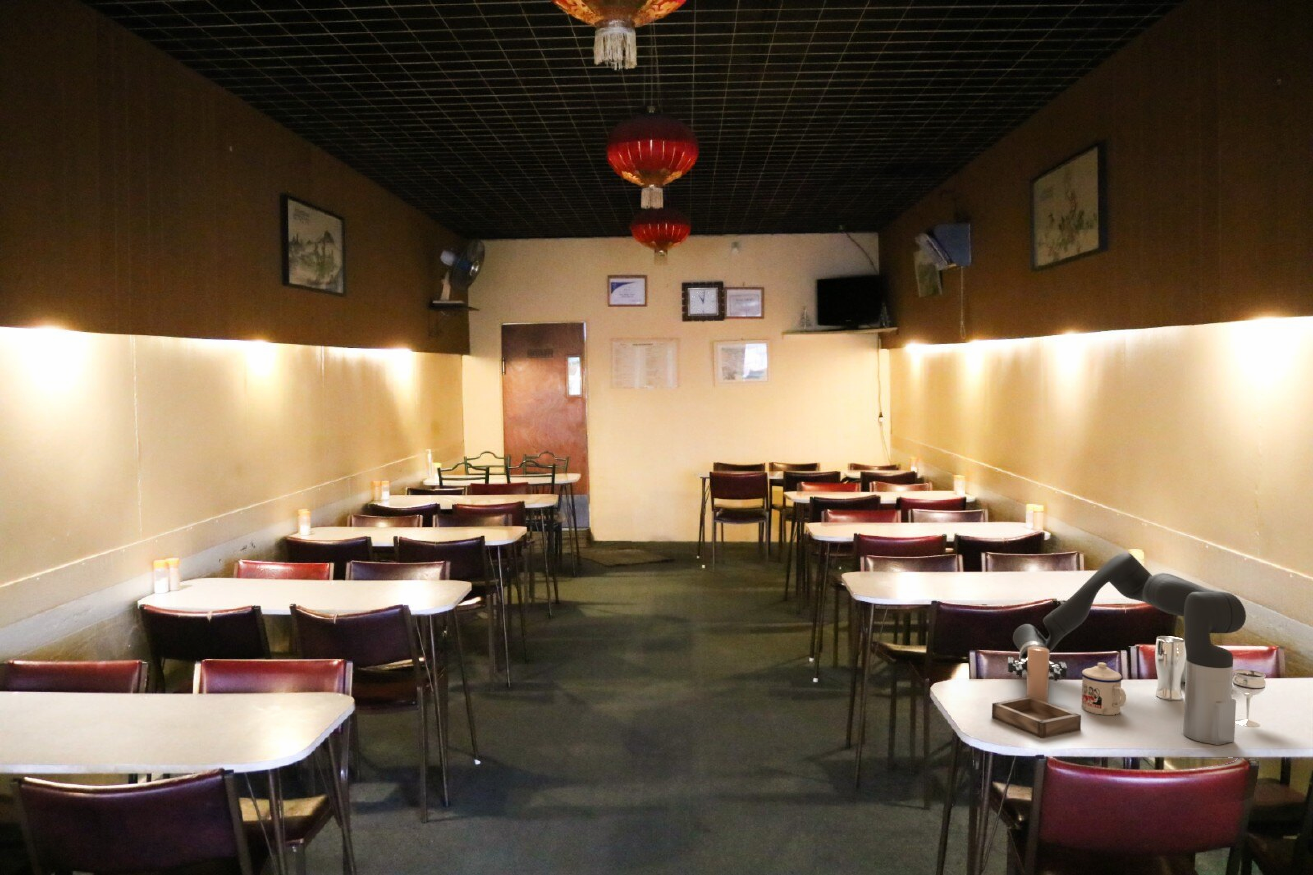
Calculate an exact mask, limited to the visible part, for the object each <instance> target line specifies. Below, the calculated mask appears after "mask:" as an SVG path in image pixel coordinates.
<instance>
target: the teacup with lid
mask: <svg viewBox="0 0 1313 875" xmlns="http://www.w3.org/2000/svg"><path fill="white" fill-rule="evenodd" d="M1107 665H1108V664H1107V663H1105V662H1103V661H1102V662H1097V665H1095V666H1093V667H1089V668H1085V669H1083V670H1082V672H1081V677H1082V683H1081V685H1082V687H1081V707H1082V709H1083V710H1084V711H1086V712H1089V713H1090V714H1095V715H1099V714H1101V716H1115V714H1116V715H1118V714H1119V713H1121V707H1123V706H1124V705H1125V703H1126V701H1127V693H1126V692H1125V690H1124V689H1123V688H1122V680H1123V677H1122V675H1121V674H1120V673H1119V672H1118V671H1115V670H1113V669H1111V668H1110V667H1108V666H1107Z"/></svg>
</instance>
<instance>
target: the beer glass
mask: <svg viewBox="0 0 1313 875" xmlns="http://www.w3.org/2000/svg"><path fill="white" fill-rule="evenodd" d="M1154 651H1155V652H1154V660H1155V669H1156V674H1157V688H1156V691H1155V696H1156V697H1157V696H1158V697H1157V698H1159V699H1162V700H1166V701H1167V700H1168V701H1173V700H1177V701H1182V699H1183V694H1182V682H1181V681H1182V676H1183V672H1184V668H1185V662H1186V649H1185V639H1184V638H1181V637H1175V636H1169V635H1168V636H1166V635H1160V636H1159V635H1158V636H1157V637H1156V642H1155V650H1154Z"/></svg>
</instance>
